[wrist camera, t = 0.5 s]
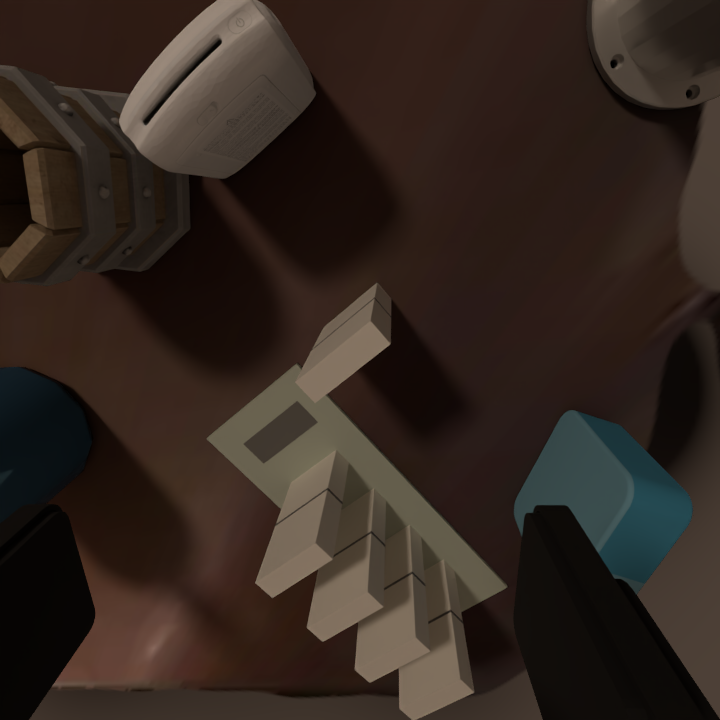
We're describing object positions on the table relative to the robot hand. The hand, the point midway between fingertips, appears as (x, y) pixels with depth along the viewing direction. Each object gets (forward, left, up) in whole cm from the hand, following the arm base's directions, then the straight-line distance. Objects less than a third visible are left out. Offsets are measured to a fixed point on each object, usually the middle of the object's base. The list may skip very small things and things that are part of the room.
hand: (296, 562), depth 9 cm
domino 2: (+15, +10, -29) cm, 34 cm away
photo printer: (-2, -15, -30) cm, 33 cm away
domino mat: (+15, +17, -29) cm, 37 cm away
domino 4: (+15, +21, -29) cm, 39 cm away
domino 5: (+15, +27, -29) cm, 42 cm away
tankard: (+10, -23, -30) cm, 39 cm away
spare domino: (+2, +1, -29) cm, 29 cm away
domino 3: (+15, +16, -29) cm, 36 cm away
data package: (-3, +24, -30) cm, 38 cm away
